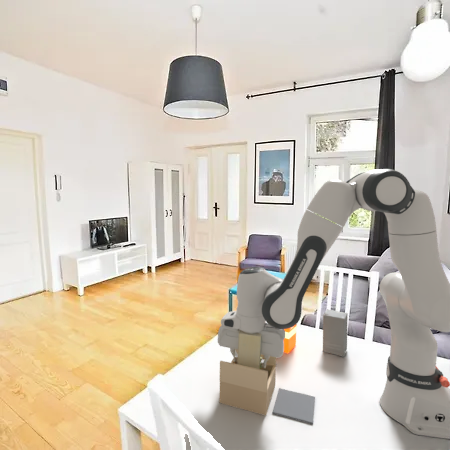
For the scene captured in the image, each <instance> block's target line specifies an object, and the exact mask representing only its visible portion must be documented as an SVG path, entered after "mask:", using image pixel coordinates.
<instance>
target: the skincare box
mask: <svg viewBox="0 0 450 450" xmlns="http://www.w3.org/2000/svg"><path fill="white" fill-rule="evenodd" d="M347 349H348V312H343V311H337V310H333V309H326V310H325V312H324V313H323V315H322V352H324V353H326V354H327V353H328V354H330V355H331V354H332V355H335V356H340V357H345V354H346V352H347Z"/></svg>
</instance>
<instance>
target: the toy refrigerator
mask: <svg viewBox="0 0 450 450" xmlns="http://www.w3.org/2000/svg"><path fill="white" fill-rule="evenodd" d="M260 346H261V334H259V333H255V334H250V333H245V332H243V331H242V330H240V331H239V339H238V360H237V364H238V365H243V366H247V367H252V368H256V369H261V370H262V368H261V367H260V362H261V360H262V357H261V354H260Z"/></svg>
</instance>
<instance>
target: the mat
mask: <svg viewBox="0 0 450 450" xmlns="http://www.w3.org/2000/svg"><path fill="white" fill-rule="evenodd" d="M315 403H316V396H314V395H310V394H309V395H308V394H305V393H300V392H297V391H292V390H290V389H284V388H281V387H279V388H278V390H277V394H276V398H275V401H274V405H273V409H272V414H273V415H277V416H281V417H285V418H289V419H291V420H295V421H299V422H303V423H307V424H310V425H313V424H314V418H315V416H314V414H315Z"/></svg>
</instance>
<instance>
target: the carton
mask: <svg viewBox="0 0 450 450" xmlns="http://www.w3.org/2000/svg"><path fill="white" fill-rule="evenodd" d="M236 352H237V354H238V350H237V349H236ZM261 357H262V359H263V360H264V359H265V358H264V355H262V354H261ZM276 372H277V358H276V357H272V356H270V357H269V359H268V361H267V362H266V368H262V370H261V369H256V368H252V367H247V366H243V365H238V364H237V362H234V357H233V358H232V360H231V361H224V360H219V404H223V405H226V406H230V407H233V408H236V409H240V410H245V411H247V412H251V413H255V414H258V415H262V416H267V414H268V410H269V407H270V404H271V400H272V397H273V394H274V391H275V389H276V388H275V387H276V375H277V374H276Z"/></svg>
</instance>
